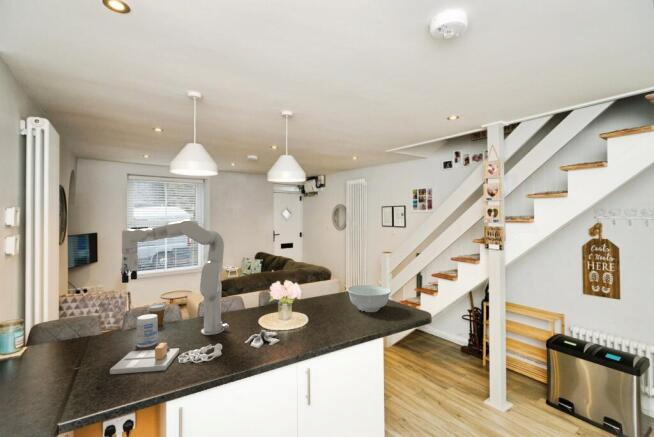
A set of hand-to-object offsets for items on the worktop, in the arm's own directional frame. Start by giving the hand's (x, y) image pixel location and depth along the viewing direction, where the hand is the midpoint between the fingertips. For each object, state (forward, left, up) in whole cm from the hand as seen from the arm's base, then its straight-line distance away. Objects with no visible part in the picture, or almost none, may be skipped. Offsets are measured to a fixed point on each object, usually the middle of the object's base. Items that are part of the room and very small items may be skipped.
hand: (129, 281), depth 170 cm
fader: (-30, +36, -29) cm, 55 cm away
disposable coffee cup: (-8, -17, -31) cm, 37 cm away
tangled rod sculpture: (-48, +35, -32) cm, 67 cm away
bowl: (-149, -28, -32) cm, 155 cm away
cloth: (-74, +18, -32) cm, 83 cm away
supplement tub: (-15, +14, -32) cm, 38 cm away
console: (-24, +36, -31) cm, 53 cm away
